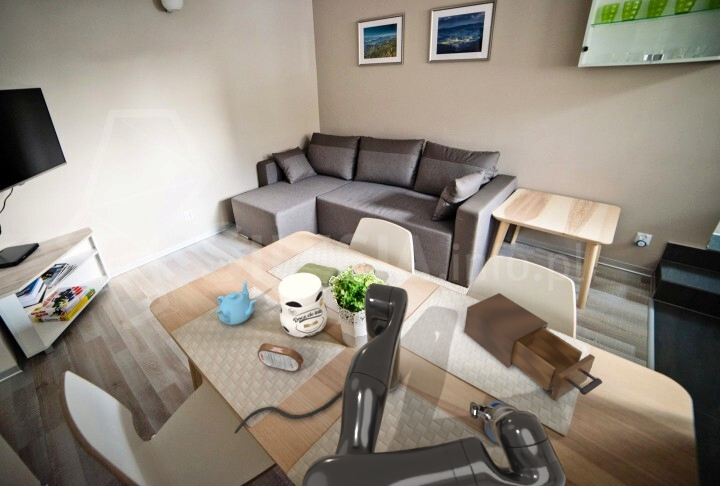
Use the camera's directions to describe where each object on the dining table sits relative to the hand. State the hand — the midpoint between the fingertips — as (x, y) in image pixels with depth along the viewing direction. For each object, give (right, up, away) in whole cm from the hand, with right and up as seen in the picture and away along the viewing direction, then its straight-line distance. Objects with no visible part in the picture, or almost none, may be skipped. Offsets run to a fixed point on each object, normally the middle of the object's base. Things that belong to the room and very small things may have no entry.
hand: (501, 414), depth 78 cm
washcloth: (-46, +21, +70) cm, 86 cm away
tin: (-56, 0, +26) cm, 62 cm away
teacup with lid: (-24, +19, +61) cm, 69 cm away
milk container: (-49, +8, +43) cm, 66 cm away
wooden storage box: (+16, +7, +29) cm, 34 cm away
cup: (+1, -6, +3) cm, 7 cm away
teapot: (-75, +9, +50) cm, 91 cm away
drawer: (+22, +3, +15) cm, 27 cm away
